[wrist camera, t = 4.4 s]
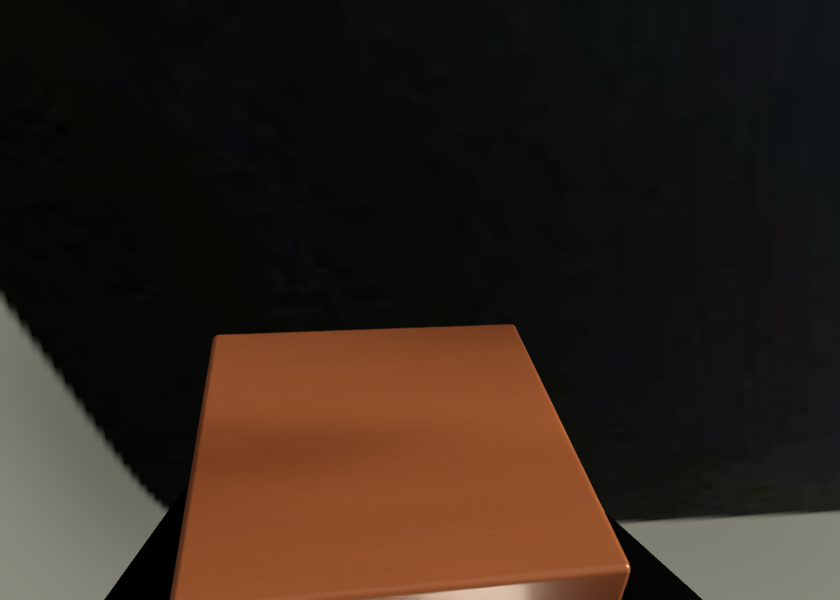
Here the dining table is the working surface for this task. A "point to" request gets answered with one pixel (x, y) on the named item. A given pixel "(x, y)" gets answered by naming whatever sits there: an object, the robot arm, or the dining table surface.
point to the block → (388, 474)
